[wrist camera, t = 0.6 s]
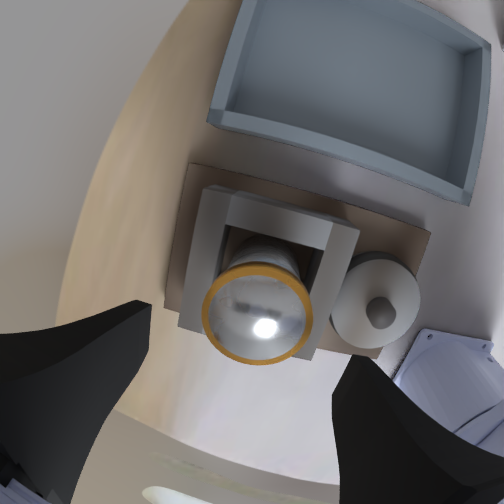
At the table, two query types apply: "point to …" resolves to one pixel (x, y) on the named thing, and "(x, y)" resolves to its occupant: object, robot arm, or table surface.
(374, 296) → the board
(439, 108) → the tray
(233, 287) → the gold-rimmed cylinder
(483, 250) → the table surface
